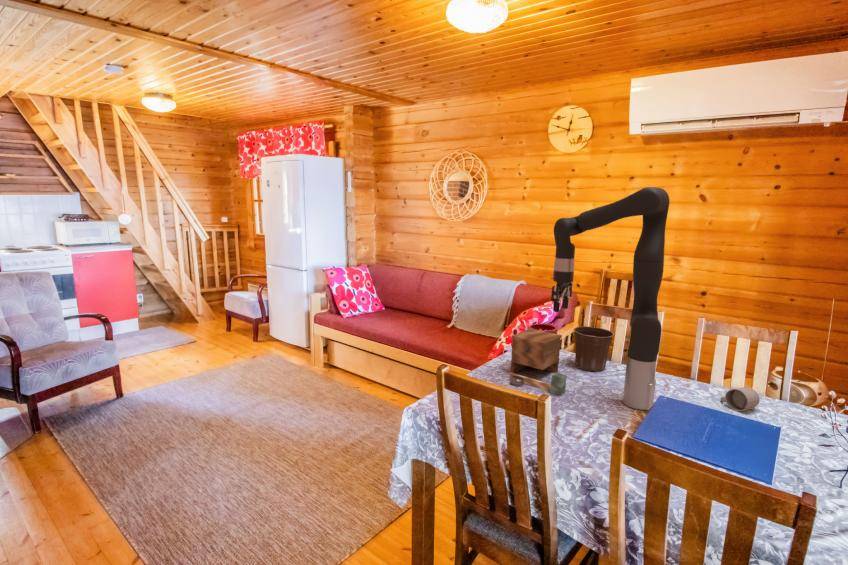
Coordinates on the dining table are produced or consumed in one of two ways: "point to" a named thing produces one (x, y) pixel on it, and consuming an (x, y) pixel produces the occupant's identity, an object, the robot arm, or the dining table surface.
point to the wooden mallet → (555, 387)
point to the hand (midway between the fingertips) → (560, 310)
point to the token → (516, 381)
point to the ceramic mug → (741, 398)
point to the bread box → (535, 350)
